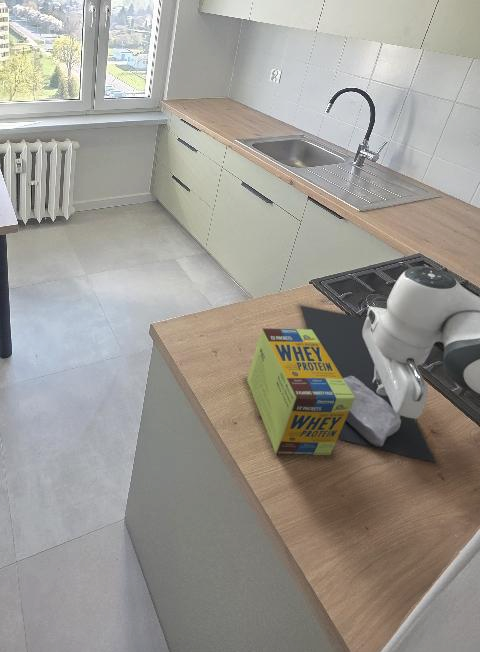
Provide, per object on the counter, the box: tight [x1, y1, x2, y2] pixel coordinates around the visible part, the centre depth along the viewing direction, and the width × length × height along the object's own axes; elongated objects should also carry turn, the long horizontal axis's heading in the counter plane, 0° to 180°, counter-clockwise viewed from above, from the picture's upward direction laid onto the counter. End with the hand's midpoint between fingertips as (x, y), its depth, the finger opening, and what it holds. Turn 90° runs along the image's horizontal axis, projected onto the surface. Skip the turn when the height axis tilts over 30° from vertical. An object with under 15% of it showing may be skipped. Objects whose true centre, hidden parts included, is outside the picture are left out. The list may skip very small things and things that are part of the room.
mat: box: [300, 305, 436, 464], centre depth 93 cm, size 16×36×1 cm, turn 166°
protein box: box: [246, 327, 355, 456], centre depth 79 cm, size 10×15×16 cm
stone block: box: [343, 376, 401, 447], centre depth 83 cm, size 12×5×10 cm
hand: (378, 389), depth 86 cm, fingers closed
